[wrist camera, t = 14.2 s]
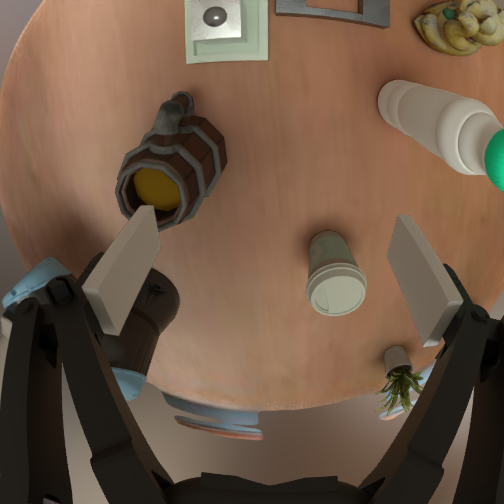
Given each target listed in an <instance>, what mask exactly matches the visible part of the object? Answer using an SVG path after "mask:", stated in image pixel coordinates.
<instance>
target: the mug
mask: <svg viewBox="0 0 504 504" xmlns="http://www.w3.org/2000/svg"><path fill="white" fill-rule="evenodd" d="M193 114H194V103H193V98H192V97H191V96H190V95H189V94H188V93H187V92H182V91H179V92H177V93H175V94H173V96H172V98H171V100H168V101H166V102H164V103H162V105H161V107H160V109H159V112H158V114H157V117H156V120H155V125H154V127H153V129H152V130H151V131H150V132H148V133H146V134H145V135H144V137H143V139H142V141H141V144H140V146H138V147H136V148H135V149H133V150H131V151H130V152H128V153H127V154H126V155H125V158H124V160H123V163H122V166H121V169H120V171H119V174H118V177H117V180H118V183H117V186H116V189H115V190H116V191H115V194H116V198H117V201H118V204H119V207H120V210H121V213H122V214H123V215H124V216H125V217H126V218H127V219H129V220H130V219H131V217H132V216H133V215H134V213H135V212H136V211H137V210H138V208H139V207H140V206H145V205H153V206H154V212H155V217H156V222H157V228H158V232H160V231H163V230H165V229H167V228H170V227H172V226H175V225H177V224H180V223H181V222H184V221H186V220H189V219H191V218H193V217H194V216H195V214H196V212H197V210H198V208H199V206H200V205H201V203H202V201H203V199H204V198H206V197H208V196H209V194H210V192H211V190H212V189H213V187H214V185H215V184H216V182H217V180H218V178H219V177H220V175H221V173H222V171H223V169H224V168H225V166H226V164H227V157H226V150H225V142H224V137H223V136H222V135H221V134H220V133H219V132H218V131H217V130H216V129H215V128H214V127H213V126H212V125H211V124H210V123H209V122H208V121H207V120H206V119H205V118H201V117H195V116H192V115H193Z"/></svg>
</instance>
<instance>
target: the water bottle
mask: <svg viewBox="0 0 504 504" xmlns="http://www.w3.org/2000/svg"><path fill="white" fill-rule="evenodd" d="M378 109H379V112H380V114H381V116H382V117H383V119H384V120H385V121H386V122H387V123H388V124H389V125H391V126H393V127H394V128H396V129H398V130H400V131H401V132H402V133H404V134H406V135H407V136H409V137H412V138H413V139H414V140H415V141H417V142H418V143H419V144H420V145H422V146H423V147H425V148H426V149H428V150H429V151H430V152H432V153H433V154H435V155H436V156H438V157H440V158H441V159H443V160H444V161H445V162H446V163H447V164H448V165H449V166H450V167H451V168H453V169H454V170H456V171H458V172H460V173H463V174H467V175H478V174H479V175H487V177H488V178H489V179H490V180H491V182H492V183H493V184H494V185H495V186H496V187H497V188H499V189H500V190H501V191H503V192H504V127H502V125H501V124H500V122H499V121H498V120H497V118H496V117H495V115H494V114H493V112H492V111H491V110H490V109H489V108H488V107H487V106H486V105H485V104H483V103H482V102H480V101H478V100H476V99H472V98H467V97H462V96H460V95H458V94H455V93H452V92H449V91H446V90H442V89H438V88H434V87H427V86H425V85H422V84H418V83H412V82H409V81H405V80H393V81H390V82H388V83H387V84H385V85H384V86H383V87H382V89H381V90H380V93H379V96H378Z"/></svg>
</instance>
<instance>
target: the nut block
mask: <svg viewBox="0 0 504 504" xmlns="http://www.w3.org/2000/svg"><path fill="white" fill-rule="evenodd" d="M191 35H192V41H195V42H198V43H202V44H206V45H215V44H230V43H248V36H247V7H246V5H245V3H244V1H243V0H191Z"/></svg>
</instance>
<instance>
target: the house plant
mask: <svg viewBox="0 0 504 504" xmlns="http://www.w3.org/2000/svg"><path fill="white" fill-rule="evenodd" d="M384 357H385V377H386V378H387V379H389V382H392V381H393V380H394V381H393V383H392V384H391V386H390V387H389V388H388V389H386V390H384V389H385V388H386V387H387V385H388V384H389V382H388V383H387V385H386V386H385V387H384V388H383V389H382V390H381V391H378V392H379V393H384V392H387V391H389V390H390V389H391V388H393V386H394V388H393V390H392V389H391V391H392V393H391V391H390V393H391V394H392V395H391V398H390V400H389V401H388V402H387V404H386V405H384V407H382V408H381V409H383V408H385V407H386V406H387V405H388V404H389V403H390V401H391V400H392V399H393V400H392V403H391V405H390V408H389V409H388V410H389V412H388V413H387V415H388V414H389V413H390V412H391V411H392V409H393V407H394V405H395V403H396V401H397V397H398V394H400V398H401V401H400V402H401V404H402V406H403V408H404V410H405V411H406V412H407V410H406V407H407V409H408V410H409V409H410V405H411V406H412V404H411V403H410V399H409V391H408V390H409V389H410V386H411V387H412V388H413V389H414V390H415V391H416V392H417V393H419V394H421V392H422V391H421V390H420V389H419V388H418V387H420V388H422V389H423V387H421V386H419V384H418V382H417V381H416V380H422V379H423V377H419V375H420V374H421V372H422V371H420V372H418V373H415V374H411V372H412V370H413V365H412V363H411V361H410V359H409V357H408V355H407V353H406V351H405V349H404V347H403V346H393V347H390V348H389V349H387V350H386V351H385V353H384ZM407 376H408V377H409V378H410V379H411V380H412V381H413V382H414V383H415V384H414V383H413V382H412V381H411V380H410V379H409V378H407ZM399 389H400V392H399ZM379 393H376V394H379ZM390 393H389V395H390ZM389 395H388V396H387V397H386V398H385V399H384V400H382V401H385V400H386V399H387V398H388V397H389ZM382 401H380V402H382ZM400 402H399V403H400ZM405 405H406V406H405ZM412 407H413V406H412ZM381 409H378V410H376V411H379V410H381ZM387 415H386V416H387Z"/></svg>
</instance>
